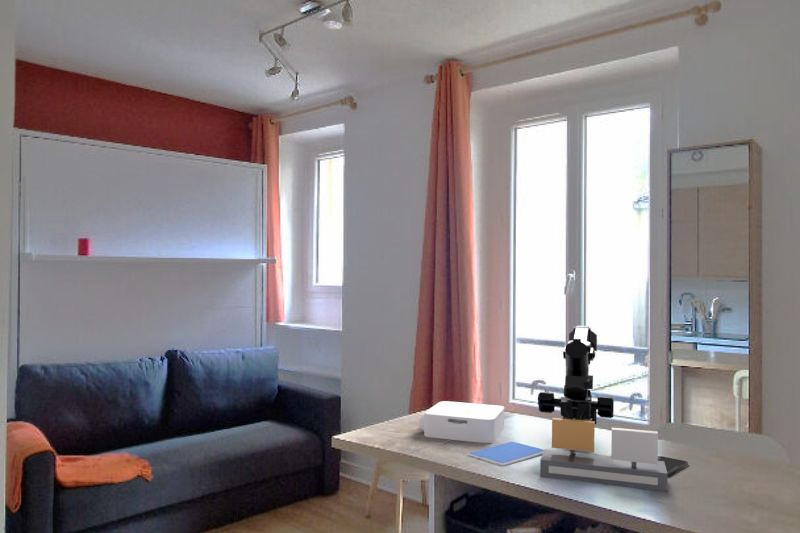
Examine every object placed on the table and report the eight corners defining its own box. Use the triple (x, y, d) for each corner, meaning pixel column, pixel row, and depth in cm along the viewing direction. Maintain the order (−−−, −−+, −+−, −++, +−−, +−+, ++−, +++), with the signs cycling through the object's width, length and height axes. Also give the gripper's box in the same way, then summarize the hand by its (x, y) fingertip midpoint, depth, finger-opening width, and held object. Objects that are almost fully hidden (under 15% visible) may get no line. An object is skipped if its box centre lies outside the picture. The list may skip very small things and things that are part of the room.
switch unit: (544, 464, 163) (544, 448, 163) (663, 478, 154) (664, 460, 154) (539, 476, 153) (540, 459, 153) (667, 491, 144) (667, 473, 144)
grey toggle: (611, 461, 152) (611, 427, 152) (656, 466, 148) (657, 431, 149) (611, 463, 150) (611, 429, 150) (657, 468, 147) (657, 433, 147)
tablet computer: (503, 468, 161) (503, 463, 161) (465, 457, 170) (465, 452, 170) (548, 455, 174) (548, 450, 174) (511, 445, 183) (511, 440, 183)
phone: (636, 467, 160) (659, 455, 171) (636, 472, 160) (658, 459, 171) (668, 474, 154) (690, 461, 165) (668, 479, 154) (689, 466, 165)
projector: (436, 421, 209) (436, 400, 209) (505, 428, 202) (505, 406, 202) (417, 436, 189) (417, 413, 190) (492, 444, 182) (493, 420, 182)
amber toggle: (552, 449, 161) (552, 417, 161) (594, 454, 158) (594, 421, 158) (551, 451, 159) (552, 419, 159) (593, 456, 156) (594, 423, 156)
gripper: (539, 360, 169) (533, 411, 158) (614, 365, 163) (613, 418, 152) (541, 386, 176) (536, 436, 166) (613, 391, 170) (612, 443, 160)
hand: (573, 433), depth 161 cm, fingers closed
